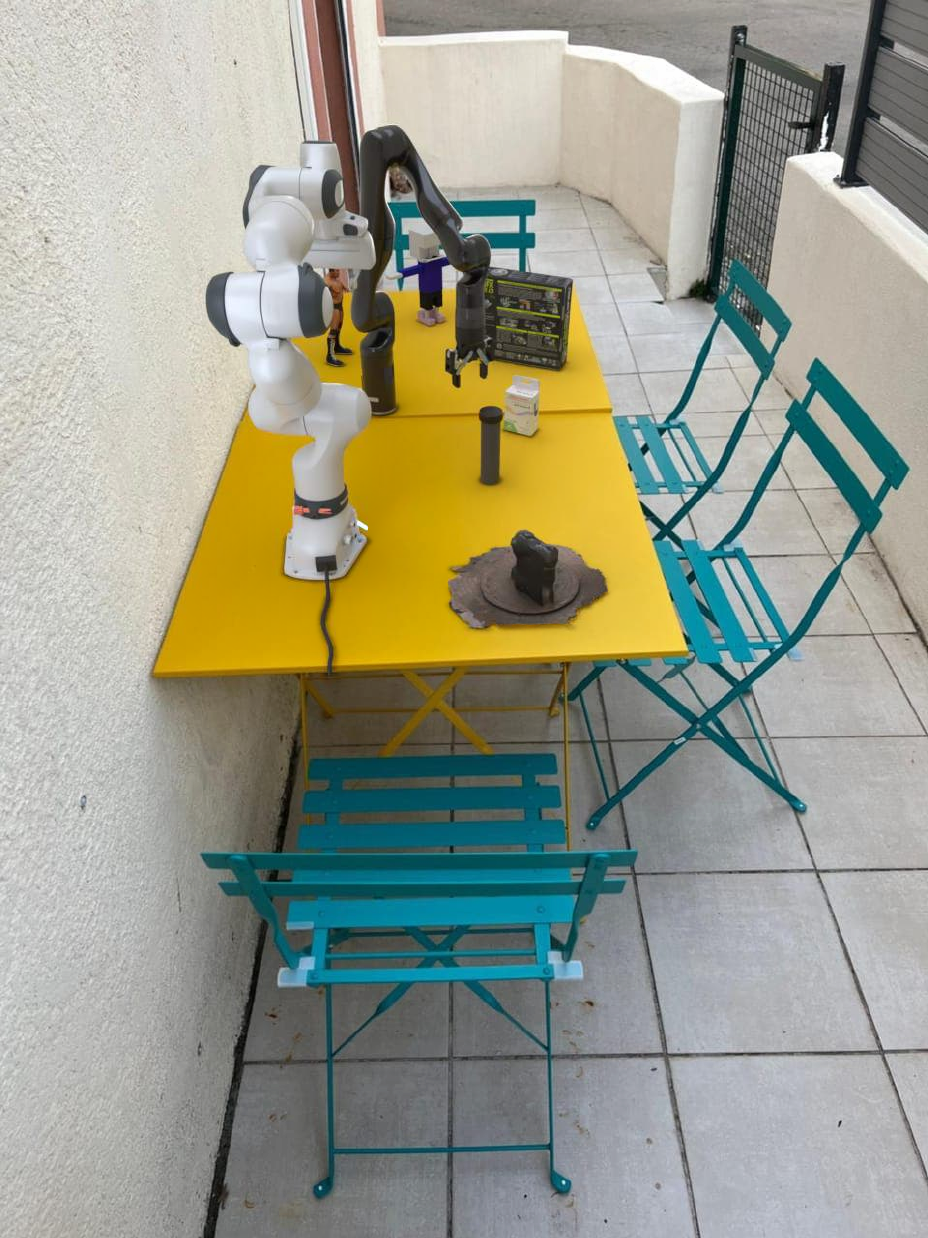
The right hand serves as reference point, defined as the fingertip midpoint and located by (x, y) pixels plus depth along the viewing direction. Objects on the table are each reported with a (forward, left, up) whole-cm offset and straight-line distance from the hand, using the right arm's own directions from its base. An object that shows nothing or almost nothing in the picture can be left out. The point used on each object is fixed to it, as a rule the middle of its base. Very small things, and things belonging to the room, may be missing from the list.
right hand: (470, 382), depth 230 cm
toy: (-76, +42, -18) cm, 89 cm away
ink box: (+3, +16, -18) cm, 24 cm away
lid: (+18, -8, +1) cm, 20 cm away
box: (-34, +45, -18) cm, 59 cm away
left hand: (-7, -34, +30) cm, 46 cm away
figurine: (-70, +1, -18) cm, 72 cm away
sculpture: (+58, -30, -18) cm, 67 cm away
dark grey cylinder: (+18, -8, -18) cm, 27 cm away
